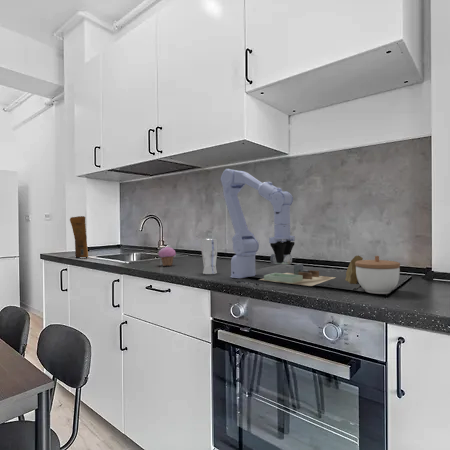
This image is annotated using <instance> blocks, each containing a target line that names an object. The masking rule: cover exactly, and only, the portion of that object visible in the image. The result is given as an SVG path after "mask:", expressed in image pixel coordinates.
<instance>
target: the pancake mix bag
mask: <svg viewBox="0 0 450 450" xmlns="http://www.w3.org/2000/svg"><path fill="white" fill-rule="evenodd" d="M69 222H70V226H71V229H72V233H73V237H74V250H75V251H74V252H75V253H74V254H75V255H74V257H75V256H76V257H88V258H89V251H88V240H87V238H88V237H87V227H86V225H87V224H86V216H83V215H82V216H81V215H80V216H70V218H69Z"/></svg>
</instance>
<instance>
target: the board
mask: <svg viewBox="0 0 450 450" xmlns="http://www.w3.org/2000/svg"><path fill="white" fill-rule="evenodd" d="M283 274H293V275H294V272H293V273H292V272H285V273H283ZM336 278H337V277H334V276H326V275H325V276H323V275H319V277H312V279H303V280H301V281H297V282H294V283H288V282H279V281H272V282H275V283H281V284H282V283H283V284H292V285H299V286H300V285H301V286H306V287H307V286H308V287H313V286H316V285H319V284H321V283H325V282H328V281H330V280H334V279H336ZM258 281H265V282H271V281H270V280H264V277H263V278H260V279H258Z"/></svg>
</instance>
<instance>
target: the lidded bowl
mask: <svg viewBox="0 0 450 450" xmlns="http://www.w3.org/2000/svg"><path fill="white" fill-rule="evenodd" d="M355 266H356V276H357V280H358V282H357V283H358V285H360V287H361V288H362V289H364V291H365V292H366V293H367V294H368V293H369V294H376V295H387V294H391V292H392V291H393V290H394V289H395V288H396V287H397V285H398V283H399V280H400V273H401V270H400V269H401V262H398V261H395V260H388V259H387V260H385V259H380V255H375V256H374V259H363V260H360V261H356V262H355Z"/></svg>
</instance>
